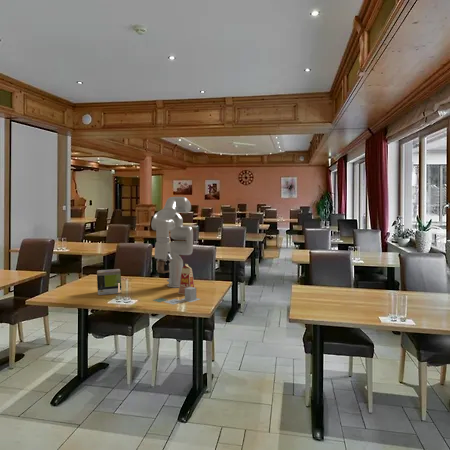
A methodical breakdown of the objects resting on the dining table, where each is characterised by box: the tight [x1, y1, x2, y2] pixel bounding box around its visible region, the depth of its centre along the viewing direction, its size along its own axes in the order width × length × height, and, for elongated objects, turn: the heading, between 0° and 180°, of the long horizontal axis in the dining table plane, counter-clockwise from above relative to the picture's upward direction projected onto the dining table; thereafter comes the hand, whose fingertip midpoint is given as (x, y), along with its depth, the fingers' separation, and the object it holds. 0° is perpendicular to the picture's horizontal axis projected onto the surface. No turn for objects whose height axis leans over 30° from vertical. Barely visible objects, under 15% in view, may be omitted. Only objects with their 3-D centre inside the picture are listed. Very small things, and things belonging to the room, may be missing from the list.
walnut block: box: [156, 260, 170, 274], centre depth 241 cm, size 5×5×7 cm
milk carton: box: [177, 263, 196, 295], centre depth 261 cm, size 9×9×20 cm
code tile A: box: [164, 298, 185, 306], centre depth 240 cm, size 9×9×1 cm
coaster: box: [152, 297, 168, 303], centre depth 243 cm, size 7×7×1 cm
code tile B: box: [180, 297, 201, 303], centre depth 245 cm, size 9×9×1 cm
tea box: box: [96, 268, 122, 296], centre depth 263 cm, size 15×10×15 cm, turn 108°
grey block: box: [184, 286, 197, 301], centre depth 244 cm, size 5×5×7 cm
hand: (163, 269), depth 241 cm, fingers closed on walnut block, 5 cm apart
